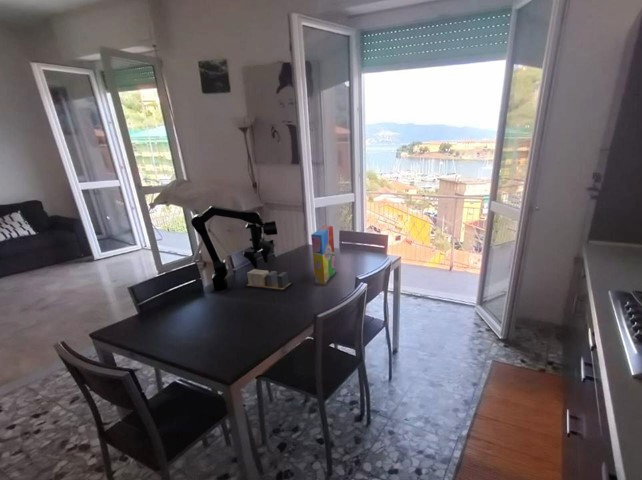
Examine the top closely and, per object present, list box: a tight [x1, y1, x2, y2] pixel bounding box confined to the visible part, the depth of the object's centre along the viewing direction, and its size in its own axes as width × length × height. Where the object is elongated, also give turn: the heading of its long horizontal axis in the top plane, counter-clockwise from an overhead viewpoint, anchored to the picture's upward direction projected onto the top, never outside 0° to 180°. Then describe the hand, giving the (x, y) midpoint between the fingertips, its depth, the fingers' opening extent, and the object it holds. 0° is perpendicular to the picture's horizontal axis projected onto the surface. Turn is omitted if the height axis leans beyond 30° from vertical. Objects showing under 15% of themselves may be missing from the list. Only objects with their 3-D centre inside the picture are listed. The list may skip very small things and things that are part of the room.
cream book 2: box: [252, 269, 263, 285], centre depth 189 cm, size 6×3×6 cm, turn 163°
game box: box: [310, 225, 337, 286], centre depth 192 cm, size 21×6×27 cm, turn 168°
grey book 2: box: [277, 271, 290, 289], centre depth 185 cm, size 6×3×6 cm, turn 163°
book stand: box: [246, 276, 292, 290], centre depth 188 cm, size 9×22×6 cm, turn 73°
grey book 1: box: [266, 270, 278, 287], centre depth 187 cm, size 6×3×6 cm, turn 163°
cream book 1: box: [246, 268, 258, 285], centre depth 190 cm, size 6×3×6 cm, turn 163°
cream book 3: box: [258, 269, 270, 286], centre depth 188 cm, size 6×3×6 cm, turn 163°
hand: (261, 265), depth 186 cm, fingers open, 9 cm apart
